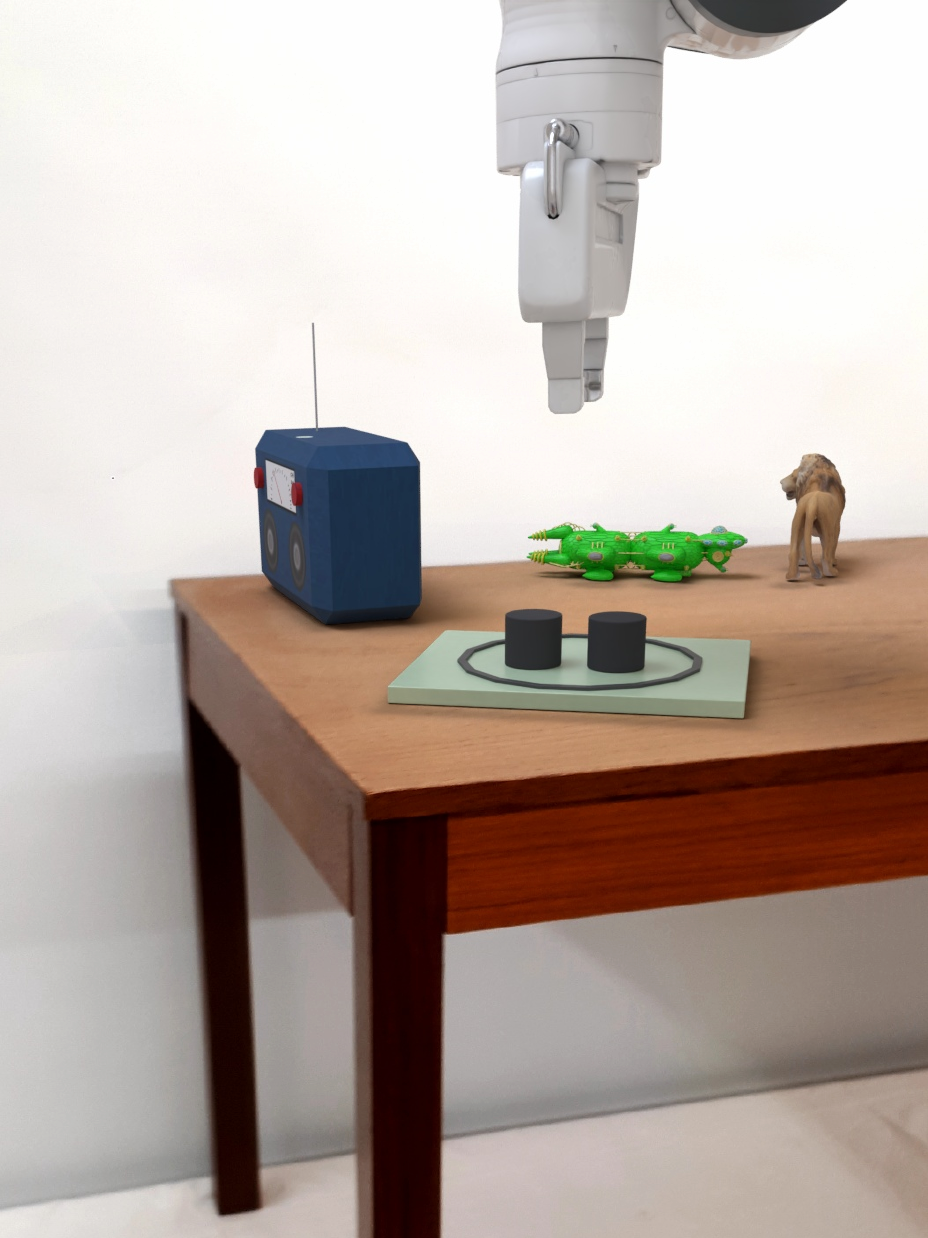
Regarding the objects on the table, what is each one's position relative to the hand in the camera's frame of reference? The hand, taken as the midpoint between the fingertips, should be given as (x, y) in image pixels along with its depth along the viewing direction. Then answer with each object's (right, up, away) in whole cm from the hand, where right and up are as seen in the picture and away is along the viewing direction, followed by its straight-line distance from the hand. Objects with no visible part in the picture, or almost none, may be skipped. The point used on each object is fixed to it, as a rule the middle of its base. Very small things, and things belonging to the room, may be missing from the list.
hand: (577, 407), depth 84 cm
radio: (-15, -5, +30) cm, 34 cm away
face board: (+1, -15, +5) cm, 16 cm away
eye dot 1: (-2, -14, +5) cm, 15 cm away
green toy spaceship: (+9, -1, +39) cm, 40 cm away
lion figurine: (+24, 0, +40) cm, 47 cm away
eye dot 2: (+3, -14, +4) cm, 15 cm away
